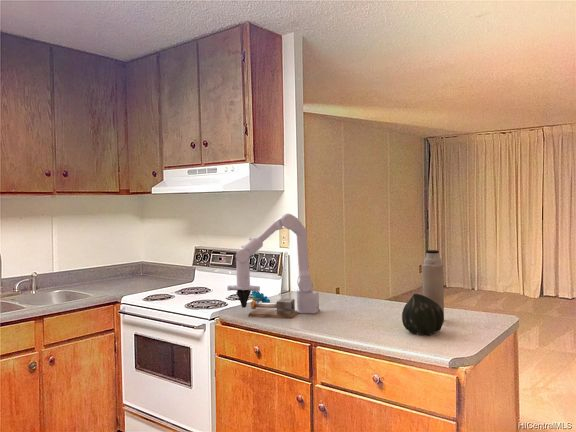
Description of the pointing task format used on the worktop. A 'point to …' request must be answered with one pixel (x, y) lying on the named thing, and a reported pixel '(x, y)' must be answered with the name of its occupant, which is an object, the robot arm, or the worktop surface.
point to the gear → (259, 297)
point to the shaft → (263, 305)
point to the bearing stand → (283, 310)
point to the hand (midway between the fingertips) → (244, 307)
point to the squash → (422, 315)
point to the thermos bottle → (433, 278)
